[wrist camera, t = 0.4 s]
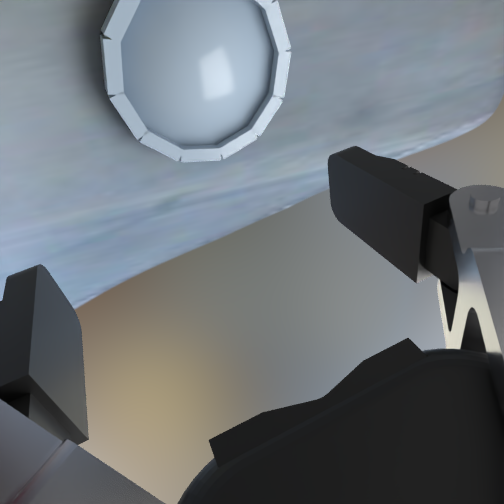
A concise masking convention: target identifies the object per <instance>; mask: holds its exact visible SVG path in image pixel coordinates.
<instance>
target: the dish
mask: <svg viewBox="0 0 504 504" xmlns="http://www.w3.org/2000/svg"><path fill="white" fill-rule="evenodd" d="M101 31H102V32H103V35H100V42H101V53H102V63H103V74H104V84H105V89H106V91H107V94H108V96H109V99H110V100H111V102H112V103H113V105H114V106H115V108H116V109H117V111H118V112H119V114H120V115H121V117H122V118H123V120H124V121H125V123H126V124H127V126H128V127H129V129H130V130H131V132H132V133H133V135H134V136H135V138H136V139H138V140H139V142H140V143H142V144H144V145H146V146H148V147H150V148H152V149H154V150H156V151H158V152H160V153H162V154H164V155H166V156H168V157H170V158H172V159H174V160H176V161H179V160H180V161H181V162H197V161H216V160H221V157H222V158H223V159H225V158H227V157H228V156H230V155H232V154H233V153H235V152H237V151H238V150H240V149H241V148H243V147H245V146H246V145H248V144H250V143H251V142H253V141H255V140H256V139H257V137H256V134H257V135H259V136H260V135H261V134H262V132H263V131H264V129H265V128H266V126H267V125H268V123H269V122H270V120H271V119H272V117H273V115H274V114H275V112H276V111H277V109H278V108H279V106H280V105H281V103H282V102H283V101H282V100H281V99H280V98H278V97H284V96H285V89H286V83H287V77H288V70H289V64H290V57H291V52H290V51H288V49H290V48H291V46H290V42H289V39H288V35H287V32H286V28H285V25H284V21H283V18H282V15H281V11H280V8H279V4H278V1H277V0H114V2H113V4H112V6H111V8H110V10H109V13H108V15H107V17H106V19H105V21H104V23H103V25H102V28H101ZM255 133H256V134H255Z"/></svg>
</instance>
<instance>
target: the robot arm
mask: <svg viewBox="0 0 504 504" xmlns="http://www.w3.org/2000/svg"><path fill="white" fill-rule="evenodd" d="M328 174H329V186H330V199H331V207H332V210H333V212H334V214H335V216H336V218H337V219H338V221H339V222H341V223H342V224H343V225H344V226H345V227H347V228H348V229H349V230H351V231H352V232H353V233H354V234H355V235H357V236H358V237H359V238H360V239H362V240H363V241H364V242H365V243H367V244H368V245H369V246H370V247H372V248H373V249H374V250H375V251H377V252H378V253H379V254H380V255H382V256H383V257H384V258H385V259H387V260H388V261H389V262H390V263H392V264H393V265H394V266H395V267H397V268H398V269H399V270H400V271H402V272H403V273H404V274H405V275H407V276H408V277H409V278H411V279H412V280H413V281H414V282H416V283H419V282H421V281H423V280H425V279H427V278H429V277H431V276H433V275H434V276H436V277H437V278H438V284H437V291H438V297H439V304H440V310H441V317H442V322H443V329H444V336H445V343H446V349H432V350H424V351H421V350H420V349H419V348H418V347H417V346H416V345H415V344H414V343H413V342H412V341H411V340H410V339H409V338H407V339H405V340H403V341H401V342H399V343H397V344H395V345H393V346H391V347H389V348H387V349H385V350H383V351H381V352H380V353H378V354H376V355H374V356H372V357H370V358H368V359H366V360H364V361H363V362H361V363H360V364H359V365H358V366H357V367H356V368H355V369H354V370H353V371H352V372H351V373H349V375H347V376H346V377H345V378H344V379H343V380H342V381H341V382H340V383H339V384H338V385H336V386H335V387H334V388H333V389H332V390H331V391H330V392H329V393H328V394H327V395H325V396H324V397H322V398H320V399H317V400H313V401H309V402H305V403H301V404H296V405H292V406H288V407H284V408H279V409H275V410H271V411H267V412H263V413H260V414H259V415H257V416H255V417H253V418H251V419H249V420H247V421H245V422H243V423H241V424H239V425H237V426H235V427H233V428H232V429H229V430H227V431H225V432H223V433H222V434H220V435H218V436H216V437H214V438H212V439H210V440H209V442H210V446H211V448H212V451H213V454H214V457H215V458H214V459H213V460H211V461H210V462H209V463H208V464H207V465H206V466H205V467H204V468H203V469H202V470H201V472H199V474H198V475H197V476H196V477H195V478H194V479H193V481H192V482H191V483H190V485H189V486H188V488H187V489H186V490H185V492H184V493H183V495H182V497H181V498H180V500H179V502H178V504H504V188H501V187H496V186H491V185H472V186H467V187H463V188H460V189H458V190H457V189H455V188H453V187H451V186H449V185H447V184H444V183H443V182H441V181H439V180H437V179H434V178H432V177H430V176H428V175H426V174H424V173H420V172H419V171H418V170H416V169H414V168H411V167H410V168H408V166H407V165H405V164H403V163H401V162H399V161H397V160H395V159H391V158H386V157H380V156H376V155H374V154H372V153H370V152H368V151H366V150H364V149H362V148H360V147H357V146H353V147H350V148H348V149H345V150H342V151H340V152H337V153H334V154H332V155H330V157H329V159H328ZM83 362H84V361H83V346H82V331H81V326H80V322H79V319H78V317H77V314H76V312H75V310H74V309H73V307H72V306H71V304H70V303H69V301H68V300H67V298H66V297H65V295H64V294H63V292H62V291H61V289H60V288H59V286H58V285H57V283H56V282H55V281H54V279H53V278H52V276H51V275H50V273H49V272H48V270H47V269H46V268H45V267H44V266H43V265H41V264H39V265H36V266H34V267H31V268H29V269H26V270H23V271H21V272H18V273H15V274H13V275H10V276H8V277H7V279H6V284H5V289H4V295H3V300H2V301H0V504H165V503H163V502H162V501H160V500H159V499H157V498H156V497H155V496H153V495H151V494H150V493H149V492H147V491H145V490H144V489H143V488H141V487H139V486H138V485H136V484H135V483H133V482H132V481H130V480H129V479H127V478H126V477H125V476H123V475H122V474H120V473H118V472H117V471H115V470H114V469H113V468H111V467H110V466H108V465H107V464H105V463H103V462H102V461H100V460H99V459H98V458H96V457H94V456H93V455H91V454H90V453H88V452H87V451H85V450H84V449H83V448H81V447H80V446H78V445H79V444H81V443H83V442H85V441H87V440H89V437H88V422H87V407H86V393H85V376H84V363H83Z"/></svg>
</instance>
